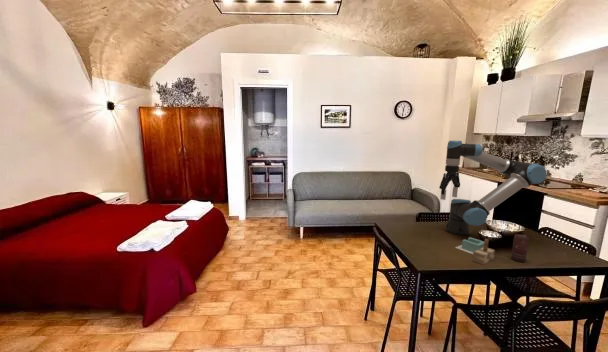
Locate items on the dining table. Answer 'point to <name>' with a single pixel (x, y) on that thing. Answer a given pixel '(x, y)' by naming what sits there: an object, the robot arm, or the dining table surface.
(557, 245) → the dining table surface
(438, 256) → the dining table surface
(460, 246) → the felt mat
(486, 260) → the hook stand
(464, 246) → the c link
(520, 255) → the can
